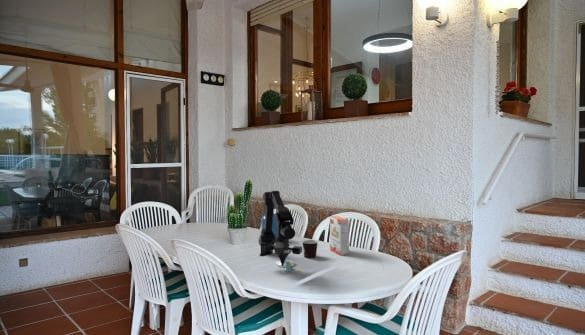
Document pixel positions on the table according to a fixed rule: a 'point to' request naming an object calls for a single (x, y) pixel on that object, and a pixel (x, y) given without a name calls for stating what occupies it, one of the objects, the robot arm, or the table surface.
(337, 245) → the cracker box
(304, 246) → the coffee mug
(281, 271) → the table surface
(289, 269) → the dial
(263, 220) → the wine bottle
